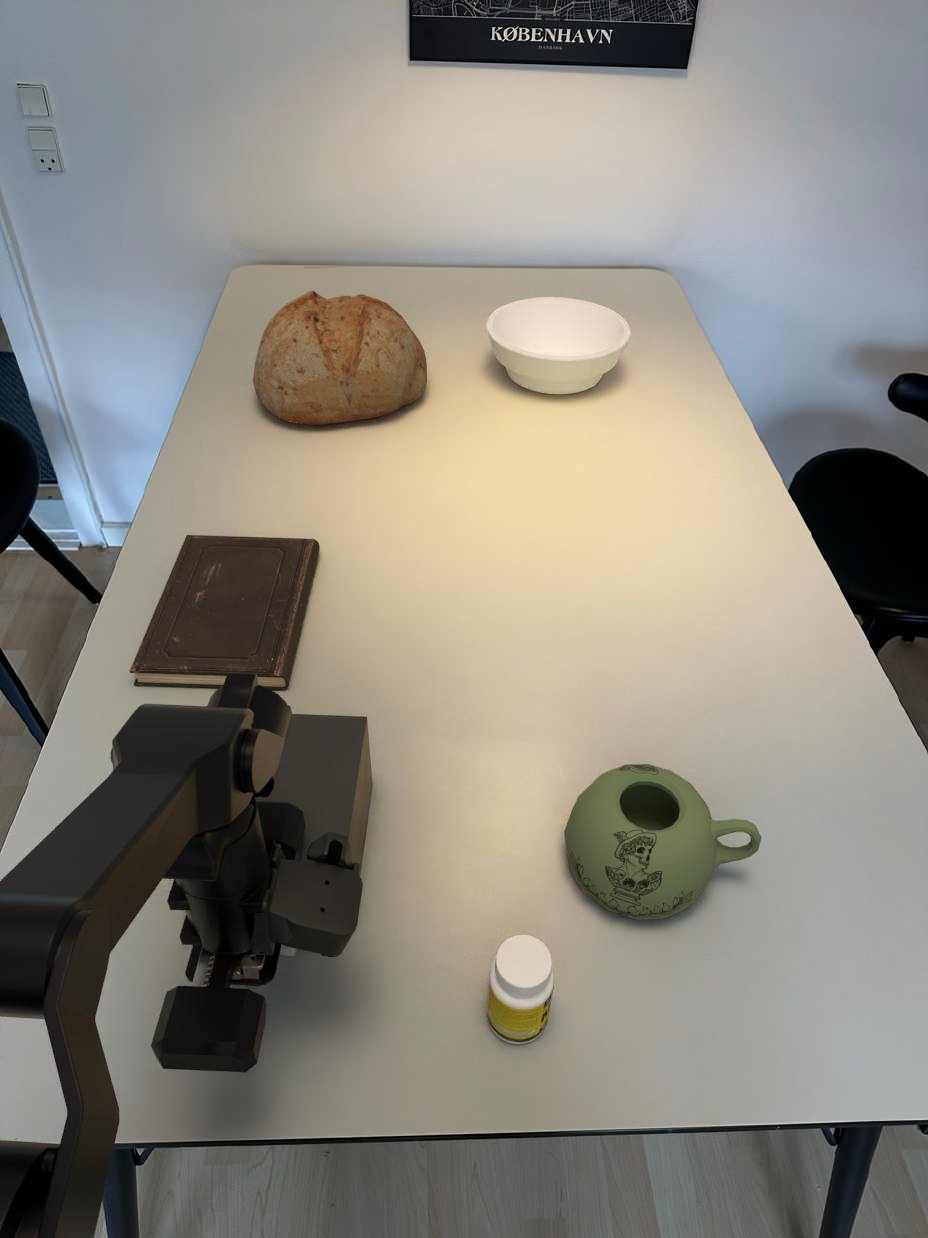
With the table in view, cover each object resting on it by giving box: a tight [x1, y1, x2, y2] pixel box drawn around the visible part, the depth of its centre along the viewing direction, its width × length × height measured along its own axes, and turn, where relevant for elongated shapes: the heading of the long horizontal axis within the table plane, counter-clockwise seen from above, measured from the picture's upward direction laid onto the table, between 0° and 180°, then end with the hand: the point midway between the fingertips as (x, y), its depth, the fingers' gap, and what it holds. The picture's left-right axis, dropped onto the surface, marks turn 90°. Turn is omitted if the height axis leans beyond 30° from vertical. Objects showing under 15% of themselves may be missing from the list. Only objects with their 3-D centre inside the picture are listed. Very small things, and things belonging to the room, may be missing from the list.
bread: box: [252, 290, 428, 426], centre depth 135 cm, size 26×23×15 cm
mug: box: [563, 763, 762, 920], centre depth 76 cm, size 16×13×9 cm
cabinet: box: [255, 713, 374, 877], centre depth 76 cm, size 15×13×10 cm
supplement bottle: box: [485, 934, 555, 1045], centre depth 66 cm, size 5×5×8 cm
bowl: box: [485, 296, 632, 395], centre depth 143 cm, size 22×22×8 cm
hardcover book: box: [129, 534, 321, 691], centre depth 101 cm, size 16×23×2 cm
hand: (253, 984), depth 66 cm, fingers closed
